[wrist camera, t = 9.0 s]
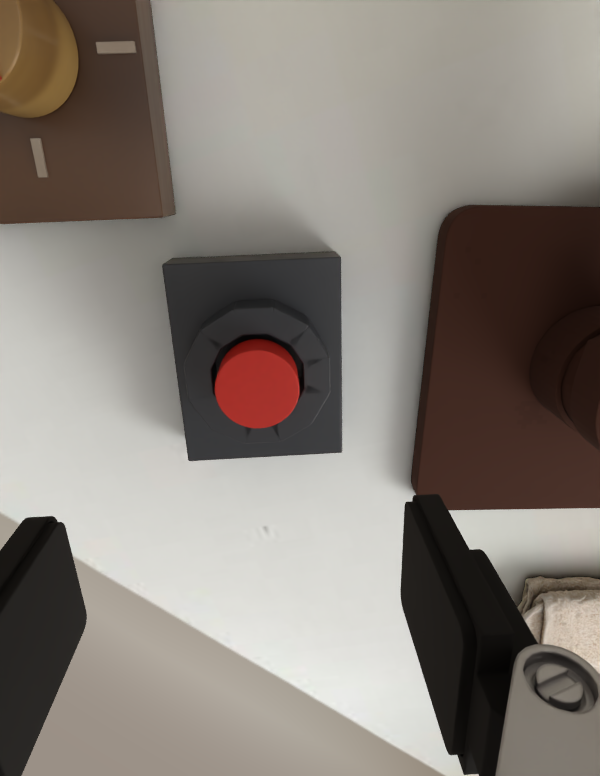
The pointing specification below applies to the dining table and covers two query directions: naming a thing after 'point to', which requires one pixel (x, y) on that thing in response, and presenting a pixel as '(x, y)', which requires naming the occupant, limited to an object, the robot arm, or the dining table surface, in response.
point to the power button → (257, 384)
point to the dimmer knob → (35, 57)
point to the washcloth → (565, 614)
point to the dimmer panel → (94, 129)
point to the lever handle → (512, 361)
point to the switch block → (258, 321)
